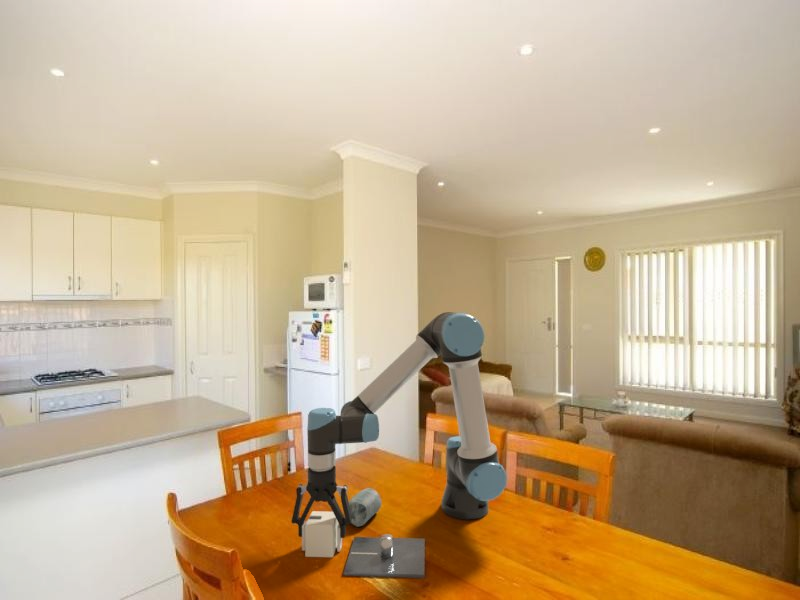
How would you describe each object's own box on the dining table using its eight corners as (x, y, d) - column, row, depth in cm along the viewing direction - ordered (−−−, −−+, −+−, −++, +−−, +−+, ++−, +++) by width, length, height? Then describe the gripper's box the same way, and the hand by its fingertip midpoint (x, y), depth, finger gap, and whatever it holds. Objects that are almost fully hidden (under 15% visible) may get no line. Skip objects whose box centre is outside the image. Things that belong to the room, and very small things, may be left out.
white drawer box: (338, 541, 123) (338, 510, 123) (332, 557, 115) (332, 523, 115) (312, 541, 123) (312, 509, 123) (305, 556, 116) (305, 523, 116)
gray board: (424, 541, 122) (424, 522, 122) (424, 577, 106) (424, 556, 106) (354, 539, 124) (354, 521, 124) (343, 575, 108) (343, 554, 108)
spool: (367, 523, 126) (358, 488, 130) (342, 532, 130) (335, 497, 134) (392, 515, 137) (383, 483, 141) (369, 523, 141) (361, 491, 145)
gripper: (363, 461, 122) (363, 541, 122) (287, 460, 123) (287, 539, 124) (358, 472, 115) (359, 557, 115) (278, 470, 116) (278, 555, 116)
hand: (322, 548), depth 119 cm, fingers open, 9 cm apart
